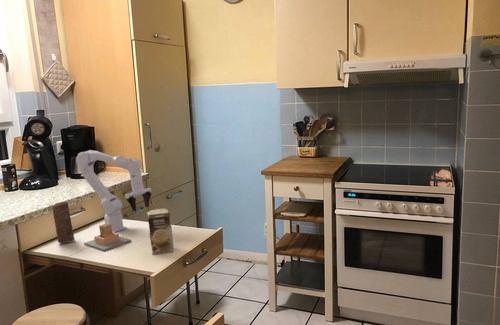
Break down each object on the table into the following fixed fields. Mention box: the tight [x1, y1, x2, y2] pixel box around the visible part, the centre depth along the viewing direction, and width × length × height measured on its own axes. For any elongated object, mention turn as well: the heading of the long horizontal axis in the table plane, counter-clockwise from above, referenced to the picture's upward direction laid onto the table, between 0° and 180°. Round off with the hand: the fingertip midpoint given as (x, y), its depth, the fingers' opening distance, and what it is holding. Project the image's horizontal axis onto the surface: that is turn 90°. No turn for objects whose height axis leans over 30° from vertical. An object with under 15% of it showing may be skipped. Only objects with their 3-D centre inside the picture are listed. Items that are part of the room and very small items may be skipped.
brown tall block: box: [51, 201, 75, 244], centre depth 201 cm, size 8×7×20 cm
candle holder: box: [146, 208, 169, 218], centre depth 199 cm, size 10×10×12 cm
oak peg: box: [98, 223, 114, 238], centre depth 194 cm, size 4×4×8 cm
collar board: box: [83, 232, 132, 253], centre depth 195 cm, size 18×14×4 cm
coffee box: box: [147, 212, 175, 256], centre depth 176 cm, size 9×6×16 cm
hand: (140, 208), depth 213 cm, fingers open, 7 cm apart
